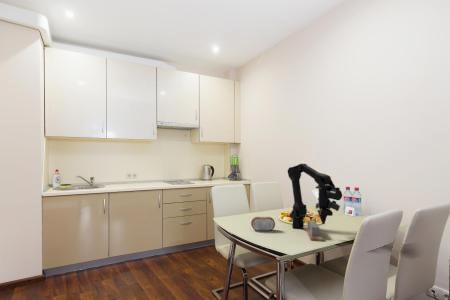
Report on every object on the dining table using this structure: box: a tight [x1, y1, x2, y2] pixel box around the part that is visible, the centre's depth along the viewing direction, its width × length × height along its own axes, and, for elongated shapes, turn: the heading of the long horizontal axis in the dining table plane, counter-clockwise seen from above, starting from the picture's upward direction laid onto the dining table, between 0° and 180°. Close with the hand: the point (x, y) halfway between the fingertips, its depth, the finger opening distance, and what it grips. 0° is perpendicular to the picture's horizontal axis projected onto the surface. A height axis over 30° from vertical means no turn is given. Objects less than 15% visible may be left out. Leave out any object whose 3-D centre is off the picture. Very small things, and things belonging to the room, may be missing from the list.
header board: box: [305, 220, 325, 242], centre depth 151 cm, size 7×19×6 cm, turn 170°
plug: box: [308, 220, 320, 236], centre depth 152 cm, size 4×12×5 cm, turn 171°
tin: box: [250, 216, 276, 232], centre depth 160 cm, size 15×3×8 cm, turn 92°
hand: (323, 223), depth 146 cm, fingers closed
